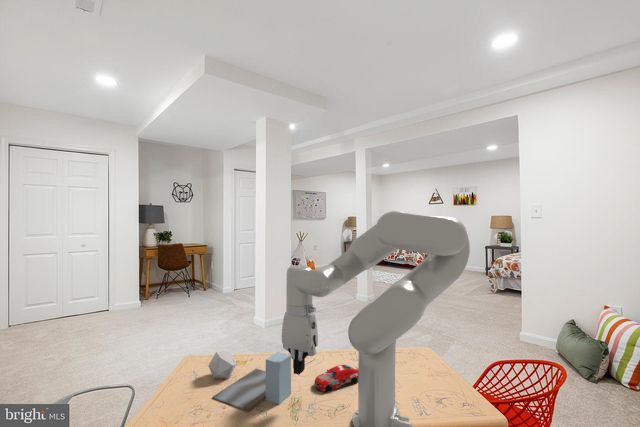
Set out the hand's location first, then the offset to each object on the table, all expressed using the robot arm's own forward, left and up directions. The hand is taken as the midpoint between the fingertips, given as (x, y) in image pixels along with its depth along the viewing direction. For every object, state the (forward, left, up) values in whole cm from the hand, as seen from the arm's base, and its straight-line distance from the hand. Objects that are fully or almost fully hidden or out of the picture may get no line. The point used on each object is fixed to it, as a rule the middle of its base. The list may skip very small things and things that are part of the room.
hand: (298, 372), depth 93 cm
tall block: (+7, 0, -9) cm, 12 cm away
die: (+31, -1, -9) cm, 33 cm away
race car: (-5, -16, -10) cm, 19 cm away
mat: (+17, 0, -9) cm, 20 cm away
